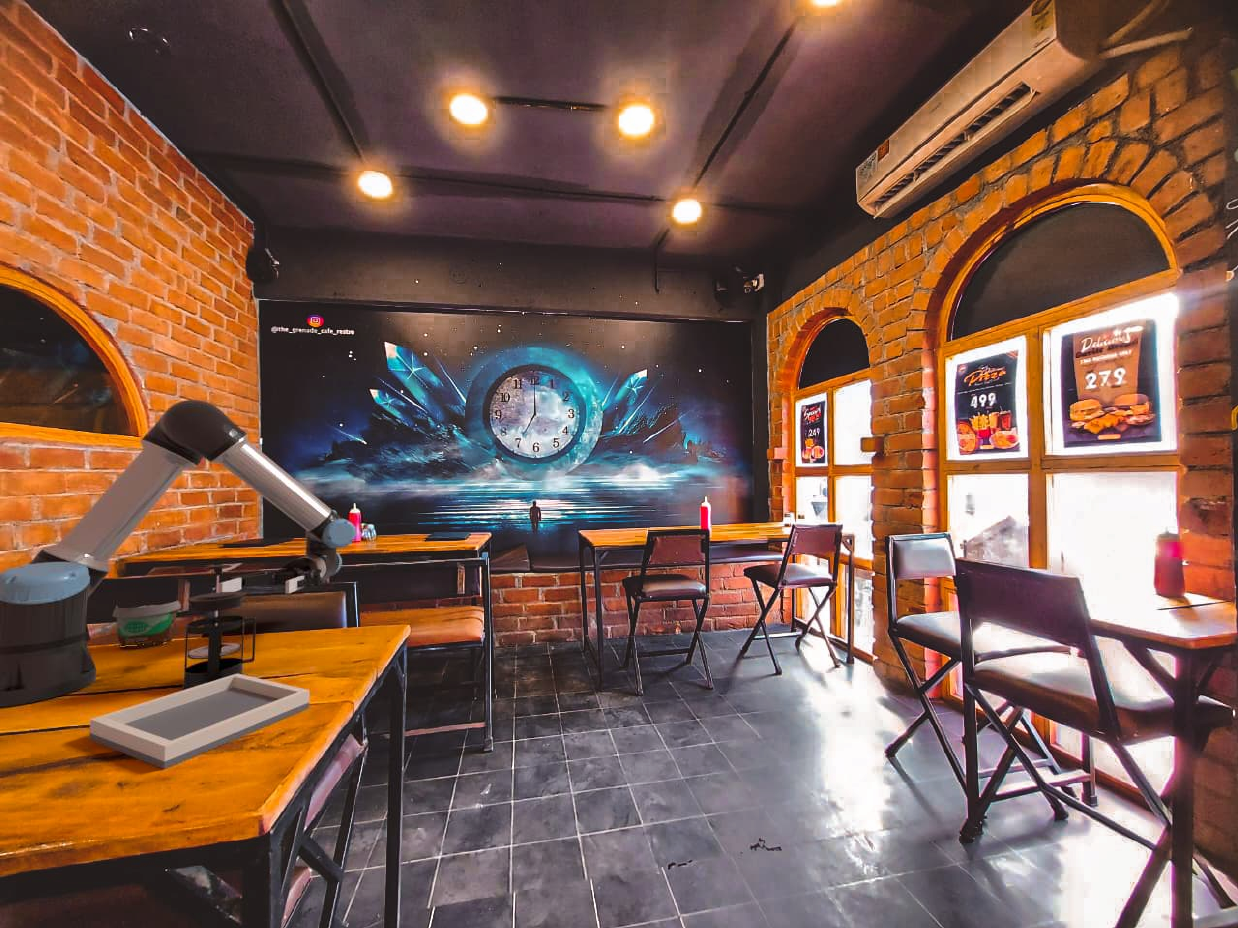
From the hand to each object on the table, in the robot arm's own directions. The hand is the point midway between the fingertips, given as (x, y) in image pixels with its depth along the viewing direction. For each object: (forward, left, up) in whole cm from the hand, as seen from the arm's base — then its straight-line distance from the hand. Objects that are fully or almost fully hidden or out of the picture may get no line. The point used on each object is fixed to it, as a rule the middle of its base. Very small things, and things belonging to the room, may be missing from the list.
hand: (254, 588), depth 108 cm
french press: (+5, -9, -16) cm, 19 cm away
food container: (-36, -3, -16) cm, 40 cm away
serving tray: (+23, -20, -16) cm, 34 cm away
